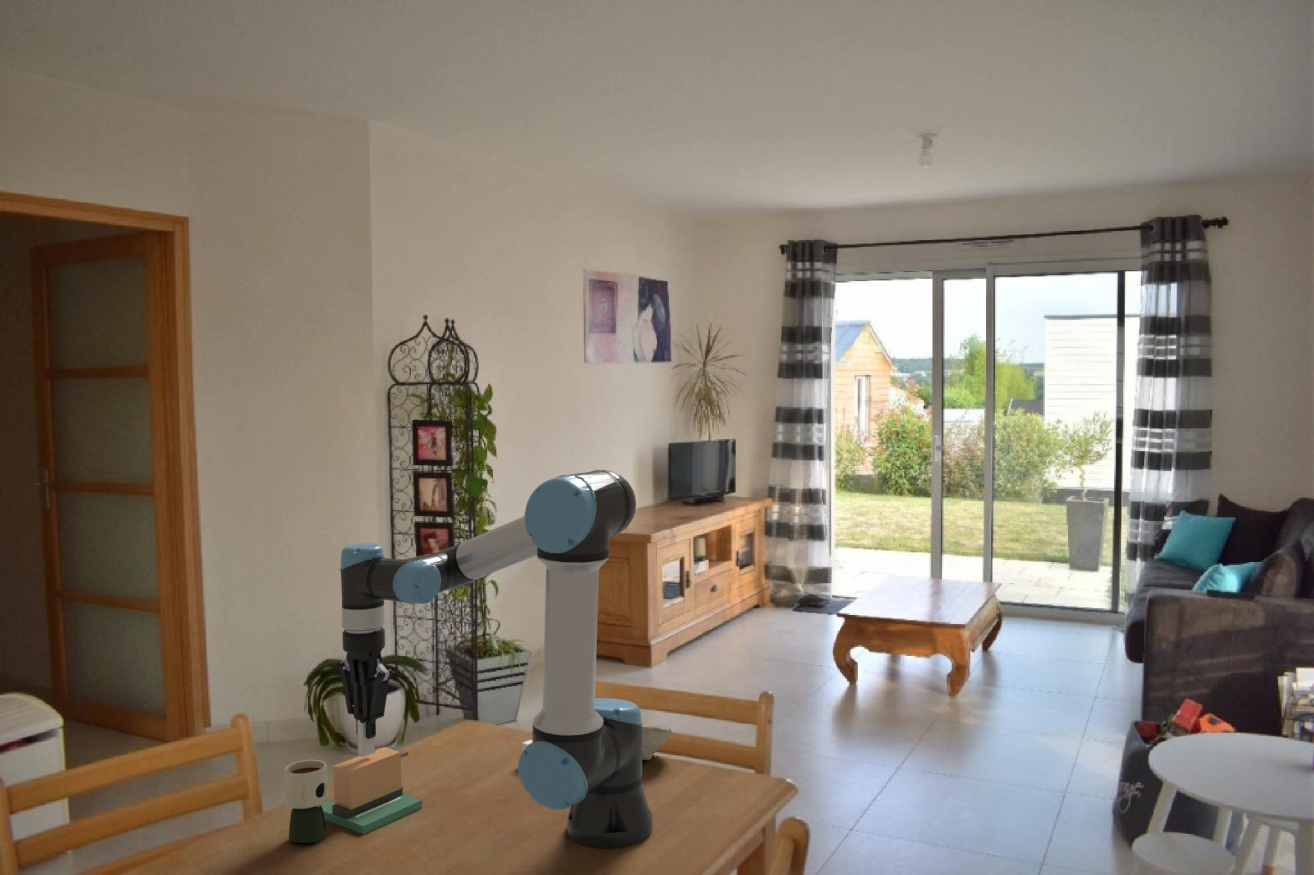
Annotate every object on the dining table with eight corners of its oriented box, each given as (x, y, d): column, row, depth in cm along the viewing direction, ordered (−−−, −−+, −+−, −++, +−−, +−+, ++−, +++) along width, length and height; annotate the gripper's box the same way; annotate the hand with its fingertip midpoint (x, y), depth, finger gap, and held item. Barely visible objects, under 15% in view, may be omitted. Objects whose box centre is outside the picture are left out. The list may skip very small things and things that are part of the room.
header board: (422, 808, 194) (421, 771, 194) (363, 834, 183) (362, 795, 183) (373, 791, 202) (372, 756, 202) (314, 815, 191) (313, 778, 191)
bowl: (680, 751, 222) (680, 705, 222) (663, 775, 209) (662, 726, 208) (614, 745, 226) (613, 700, 226) (593, 768, 213) (592, 720, 212)
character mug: (321, 852, 176) (319, 777, 176) (278, 854, 176) (276, 779, 175) (335, 825, 187) (333, 754, 186) (294, 827, 186) (292, 756, 186)
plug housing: (413, 783, 198) (412, 747, 198) (351, 809, 186) (350, 771, 186) (396, 777, 201) (395, 742, 201) (334, 803, 189) (333, 766, 189)
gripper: (403, 629, 190) (406, 755, 191) (357, 619, 197) (360, 741, 199) (370, 637, 184) (373, 767, 185) (324, 627, 191) (327, 752, 193)
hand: (366, 753), depth 192 cm, fingers closed
